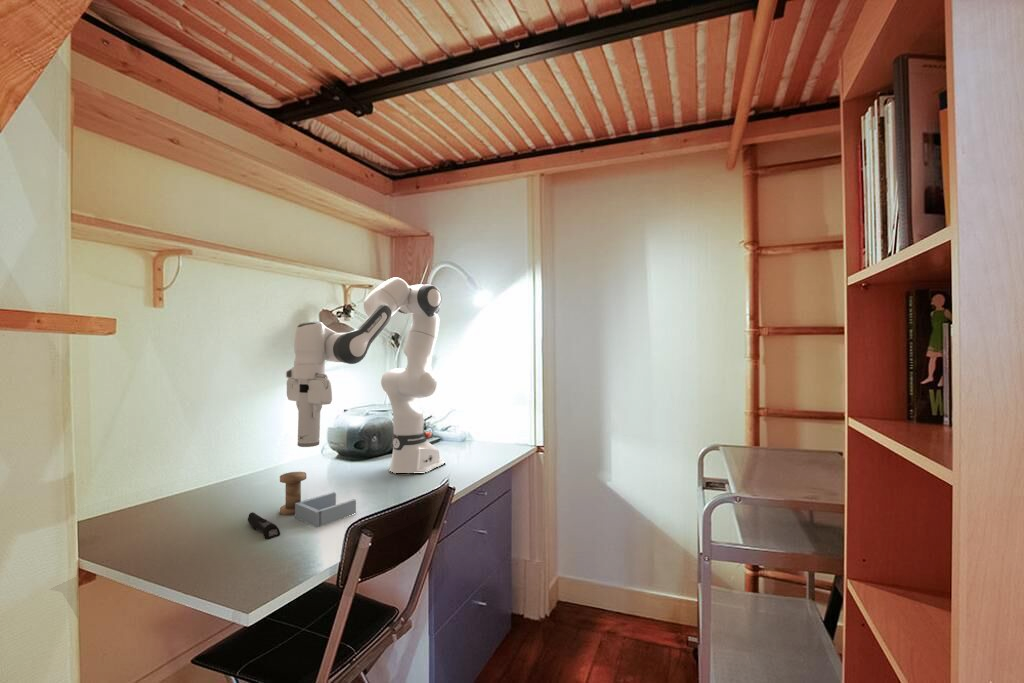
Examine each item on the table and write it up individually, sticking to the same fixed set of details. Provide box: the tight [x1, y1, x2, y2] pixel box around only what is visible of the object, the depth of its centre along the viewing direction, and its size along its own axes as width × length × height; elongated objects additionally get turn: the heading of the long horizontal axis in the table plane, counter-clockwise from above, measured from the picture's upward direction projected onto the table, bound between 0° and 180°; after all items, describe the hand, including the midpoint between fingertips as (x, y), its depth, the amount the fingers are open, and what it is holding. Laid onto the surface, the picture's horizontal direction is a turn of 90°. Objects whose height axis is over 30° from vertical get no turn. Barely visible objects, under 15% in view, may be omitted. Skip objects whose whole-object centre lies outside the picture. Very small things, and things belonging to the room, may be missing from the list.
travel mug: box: [297, 384, 321, 448], centre depth 140 cm, size 6×7×20 cm
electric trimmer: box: [247, 512, 281, 540], centre depth 117 cm, size 4×16×3 cm, turn 48°
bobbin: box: [279, 471, 307, 516], centre depth 130 cm, size 7×7×10 cm
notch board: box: [294, 491, 357, 528], centre depth 127 cm, size 12×11×4 cm
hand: (308, 416), depth 140 cm, fingers closed on travel mug, 6 cm apart
